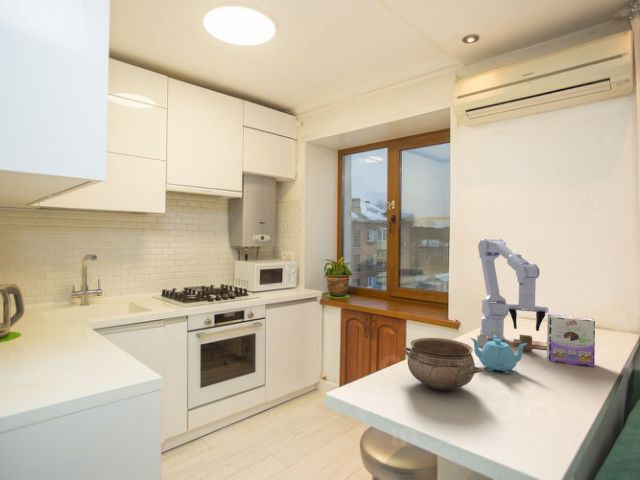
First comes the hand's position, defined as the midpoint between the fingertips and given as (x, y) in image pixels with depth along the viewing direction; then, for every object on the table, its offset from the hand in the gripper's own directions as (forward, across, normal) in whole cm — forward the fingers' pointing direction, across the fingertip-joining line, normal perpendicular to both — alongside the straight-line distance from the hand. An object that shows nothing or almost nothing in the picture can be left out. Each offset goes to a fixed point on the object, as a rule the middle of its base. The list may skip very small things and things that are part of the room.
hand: (526, 329), depth 148 cm
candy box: (+9, +13, -8) cm, 18 cm away
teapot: (+9, -12, -27) cm, 31 cm away
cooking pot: (+9, -29, -51) cm, 59 cm away
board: (+9, +4, +9) cm, 13 cm away
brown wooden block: (+9, 0, +3) cm, 9 cm away
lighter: (+9, -14, -1) cm, 17 cm away
